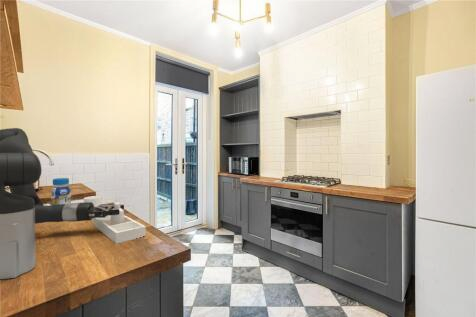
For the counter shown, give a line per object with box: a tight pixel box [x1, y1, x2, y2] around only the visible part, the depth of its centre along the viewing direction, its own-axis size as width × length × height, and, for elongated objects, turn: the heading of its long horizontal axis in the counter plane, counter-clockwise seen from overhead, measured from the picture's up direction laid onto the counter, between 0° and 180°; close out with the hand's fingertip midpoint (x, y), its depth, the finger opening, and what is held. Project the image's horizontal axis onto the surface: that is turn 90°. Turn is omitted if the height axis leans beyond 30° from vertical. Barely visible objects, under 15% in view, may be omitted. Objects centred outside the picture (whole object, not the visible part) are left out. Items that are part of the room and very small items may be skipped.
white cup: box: [83, 195, 102, 207], centre depth 120 cm, size 8×8×10 cm
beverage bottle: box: [50, 177, 72, 205], centre depth 119 cm, size 8×8×20 cm
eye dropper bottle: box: [111, 199, 125, 225], centre depth 97 cm, size 4×6×12 cm
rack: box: [92, 214, 147, 245], centre depth 98 cm, size 31×11×4 cm, turn 46°
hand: (121, 209), depth 98 cm, fingers open, 8 cm apart
